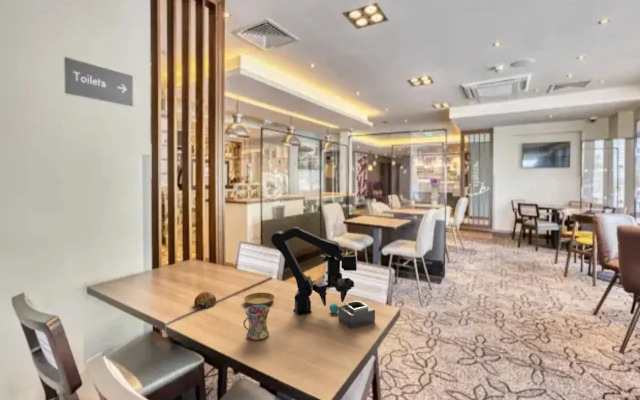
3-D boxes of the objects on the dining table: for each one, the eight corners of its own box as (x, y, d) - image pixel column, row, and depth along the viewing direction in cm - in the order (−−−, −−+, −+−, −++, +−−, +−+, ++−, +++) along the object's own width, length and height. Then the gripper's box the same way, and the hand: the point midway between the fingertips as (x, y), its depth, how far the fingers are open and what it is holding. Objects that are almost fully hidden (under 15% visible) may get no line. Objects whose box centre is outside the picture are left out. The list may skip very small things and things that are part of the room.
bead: (332, 315, 145) (332, 306, 145) (327, 311, 149) (327, 303, 149) (340, 313, 147) (340, 304, 147) (335, 310, 151) (335, 301, 150)
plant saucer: (250, 296, 169) (250, 291, 169) (278, 298, 167) (278, 293, 166) (239, 307, 154) (239, 302, 154) (269, 309, 152) (269, 304, 152)
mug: (257, 328, 133) (256, 302, 133) (274, 333, 129) (274, 307, 128) (235, 341, 123) (234, 313, 122) (253, 347, 118) (253, 319, 118)
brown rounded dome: (218, 310, 160) (222, 294, 162) (203, 309, 151) (208, 291, 153) (202, 307, 164) (207, 291, 166) (188, 305, 155) (193, 288, 158)
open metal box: (351, 329, 132) (351, 312, 132) (338, 319, 141) (338, 303, 140) (374, 322, 138) (374, 306, 137) (361, 313, 147) (361, 298, 146)
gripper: (324, 278, 135) (324, 314, 136) (361, 271, 144) (361, 306, 145) (312, 271, 145) (312, 305, 146) (347, 265, 154) (347, 297, 155)
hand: (333, 303), depth 148 cm, fingers open, 9 cm apart
